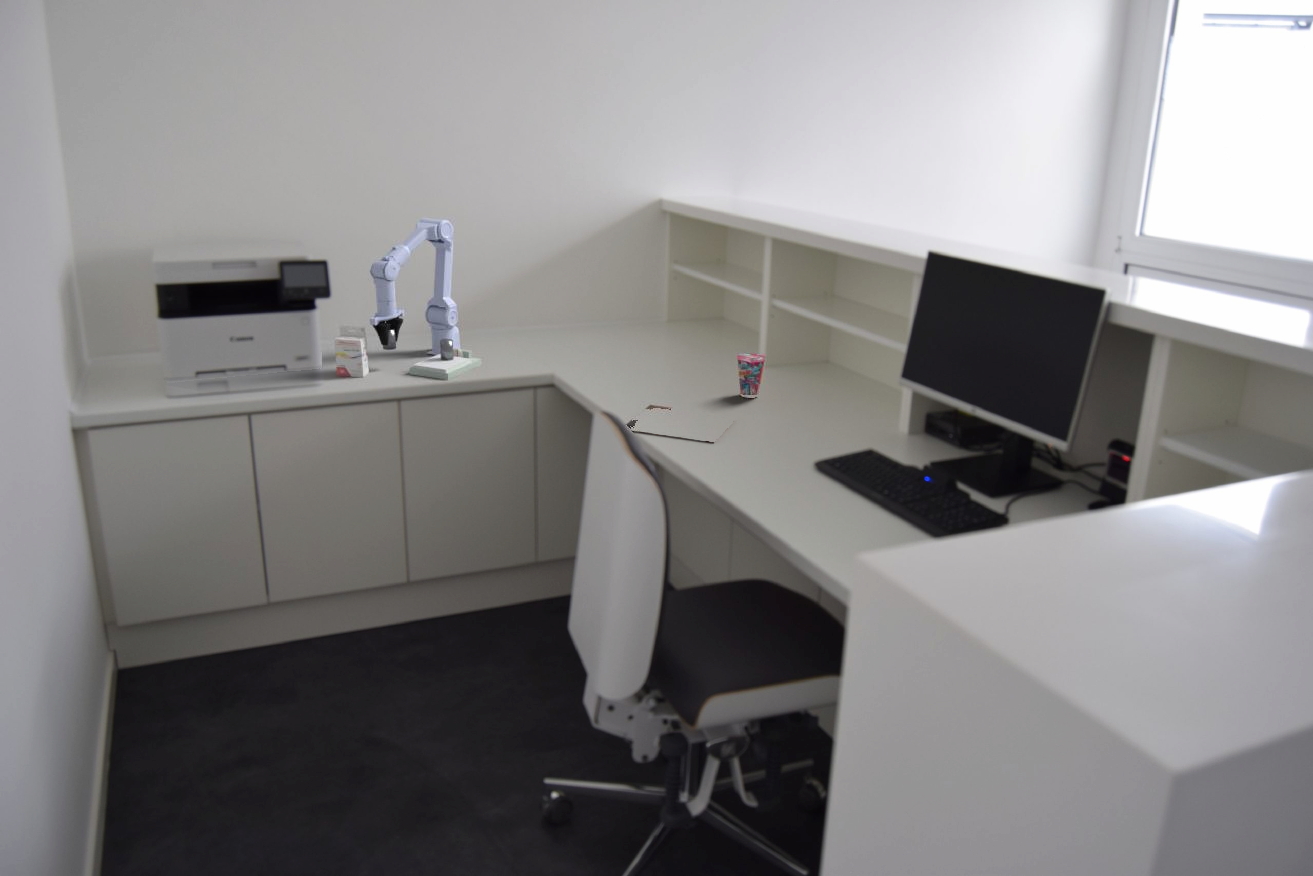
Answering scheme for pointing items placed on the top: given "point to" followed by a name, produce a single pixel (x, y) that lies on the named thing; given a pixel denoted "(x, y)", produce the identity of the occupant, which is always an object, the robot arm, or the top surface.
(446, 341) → the cylinder
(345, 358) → the ink cartridge box
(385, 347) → the cylinder
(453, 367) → the scale
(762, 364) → the cup
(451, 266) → the robot arm
